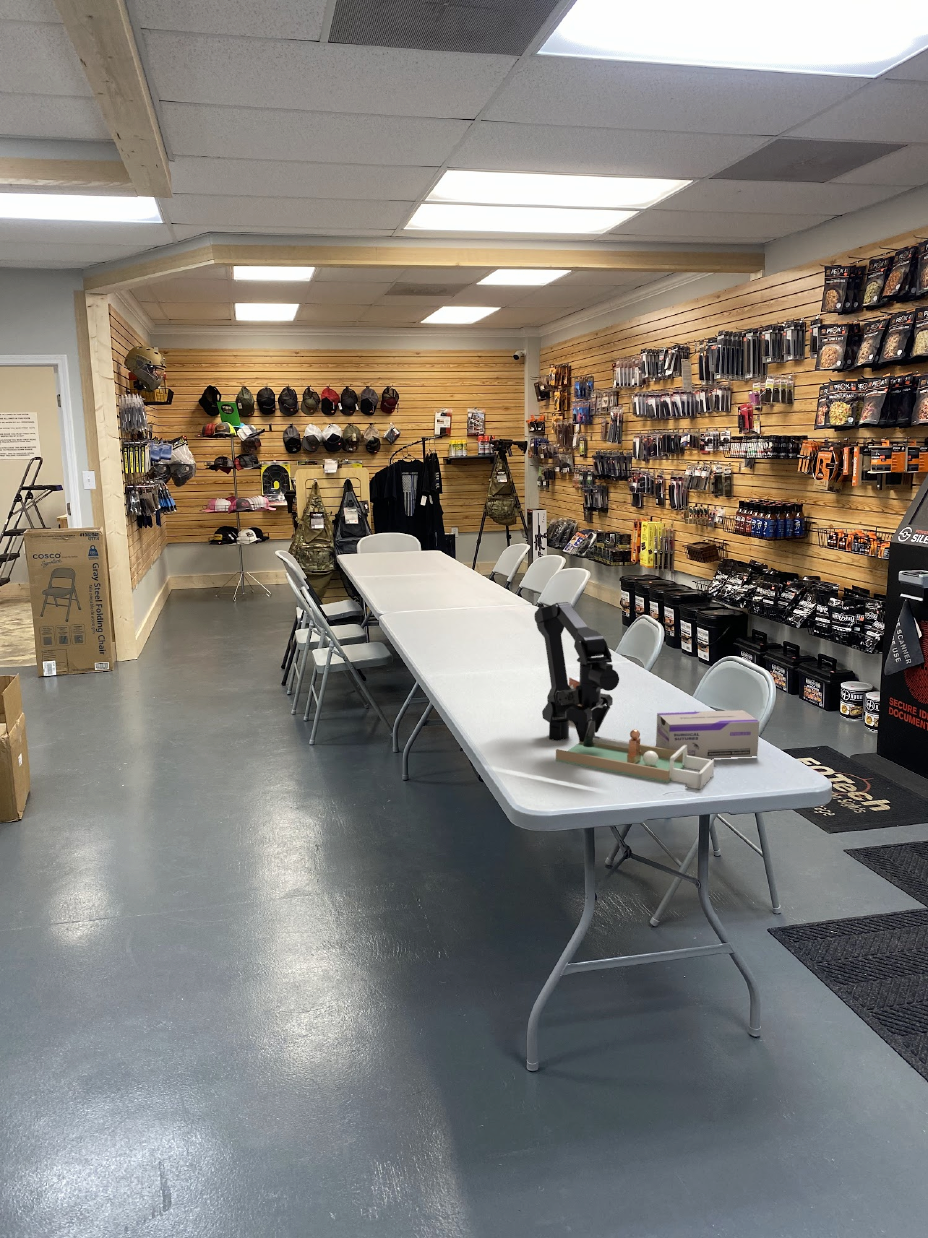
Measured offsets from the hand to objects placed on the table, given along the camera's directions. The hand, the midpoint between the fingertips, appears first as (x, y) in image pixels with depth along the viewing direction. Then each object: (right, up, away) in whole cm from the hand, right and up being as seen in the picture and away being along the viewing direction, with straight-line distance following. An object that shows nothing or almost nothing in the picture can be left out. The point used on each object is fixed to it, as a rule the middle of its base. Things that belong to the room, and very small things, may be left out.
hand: (588, 737), depth 240 cm
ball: (+15, -5, -8) cm, 18 cm away
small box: (+3, 0, +37) cm, 37 cm away
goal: (+24, -9, -13) cm, 29 cm away
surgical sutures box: (+33, -6, +6) cm, 34 cm away
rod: (+5, -5, -2) cm, 8 cm away
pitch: (+8, -7, -4) cm, 11 cm away
